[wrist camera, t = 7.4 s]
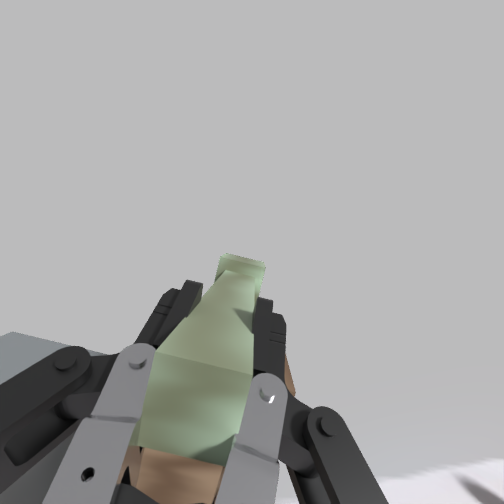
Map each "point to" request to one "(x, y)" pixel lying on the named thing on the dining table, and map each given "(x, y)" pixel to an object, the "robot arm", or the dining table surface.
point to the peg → (205, 369)
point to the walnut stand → (183, 473)
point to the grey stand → (42, 474)
